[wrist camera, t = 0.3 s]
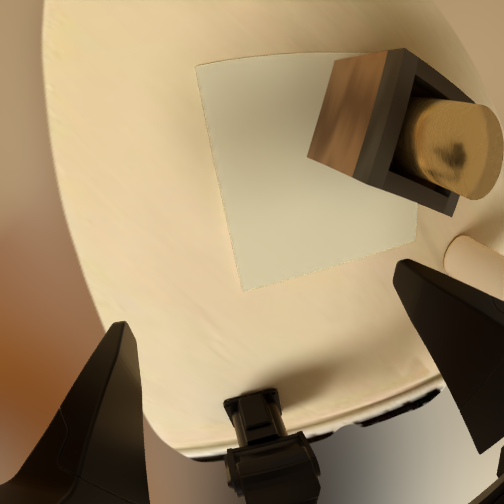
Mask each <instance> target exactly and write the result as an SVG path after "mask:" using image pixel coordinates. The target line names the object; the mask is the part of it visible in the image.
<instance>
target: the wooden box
mask: <svg viewBox="0 0 504 504" xmlns="http://www.w3.org/2000/svg"><path fill="white" fill-rule="evenodd" d="M410 96H412V97H425V98H435V99H444V100H452V101H459V102H466V103H472V104H476V103H475V102H473V101H472V100H471V99H470V98H469V97H468V96H467V95H466V94H464V93H463V92H462V91H461V90H460V89H459V88H457V87H456V86H455V85H454V84H453V83H451V82H450V81H449V80H448V79H446V78H445V77H444V76H443V75H441V74H440V73H439V72H437V71H436V70H435V69H434V68H432V67H431V66H430V65H428V64H427V63H425V62H424V61H423V60H421V59H420V58H418V57H417V56H415V55H414V54H413V53H411V52H410V51H408V50H407V49H405V48H402V49H394V50H387V51H381V52H375V53H369V54H364V55H358V56H353V57H349V58H344V59H339V60H335V61H334V65H333V68H332V72H331V75H330V79H329V82H328V86H327V89H326V93H325V96H324V100H323V103H322V107H321V110H320V114H319V117H318V120H317V124H316V127H315V131H314V134H313V137H312V141H311V144H310V147H309V151H308V154H307V158H310V159H312V160H314V161H317V162H319V163H321V164H323V165H326V166H328V167H330V168H332V169H335V170H337V171H339V172H341V173H343V174H346V175H348V176H350V177H352V178H354V179H356V180H358V181H360V182H362V183H364V184H366V185H369V186H372V187H375V188H378V189H381V190H384V191H386V192H389V193H392V194H395V195H397V196H400V197H403V198H405V199H408V200H411V201H413V202H416V203H418V204H421V205H423V206H426V207H428V208H431V209H433V210H436V211H438V212H441V213H443V214H445V215H448V216H450V217H452V216H453V213H454V210H455V208H456V205H457V202H458V199H459V196H460V195H459V194H457V193H455V192H453V191H451V190H448V189H446V188H444V187H442V186H439V185H437V184H435V183H432V182H430V181H428V180H425V179H423V178H420V177H418V176H416V175H413V174H411V173H408V172H405V171H403V170H400V169H398V168H395V167H392V166H390V164H391V161H392V158H393V154H394V151H395V148H396V145H397V141H398V138H399V135H400V131H401V128H402V124H403V121H404V117H405V113H406V110H407V106H408V102H409V98H410Z"/></svg>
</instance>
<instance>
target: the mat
mask: <svg viewBox="0 0 504 504" xmlns="http://www.w3.org/2000/svg"><path fill="white" fill-rule="evenodd" d="M364 54H369V53H351V52H314V53H291V54H277V55H266V56H256V57H248V58H240V59H233V60H226V61H220V62H214V63H209V64H203V65H198V66H195V69H196V74H197V79H198V84H199V89H200V94H201V100H202V105H203V110H204V115H205V120H206V125H207V129H208V134H209V139H210V144H211V149H212V154H213V159H214V164H215V168H216V173H217V178H218V183H219V187H220V192H221V197H222V201H223V206H224V211H225V215H226V220H227V225H228V229H229V234H230V238H231V243H232V247H233V252H234V256H235V261H236V265H237V270H238V274H239V279H240V283H241V287H242V291H243V292H245V291H249V290H253V289H256V288H260V287H264V286H267V285H271V284H275V283H278V282H282V281H285V280H289V279H292V278H296V277H299V276H303V275H306V274H310V273H313V272H317V271H320V270H324V269H327V268H330V267H334V266H337V265H340V264H344V263H347V262H350V261H354V260H357V259H360V258H363V257H367V256H370V255H373V254H376V253H379V252H383V251H386V250H389V249H392V248H395V247H398V246H401V245H405V244H408V243H411V242H414V241H415V239H416V227H417V213H418V203H416V202H413V201H411V200H408V199H405V198H403V197H400V196H397V195H395V194H392V193H389V192H386V191H384V190H381V189H378V188H375V187H372V186H369V185H366V184H364V183H362V182H360V181H358V180H356V179H354V178H352V177H350V176H348V175H346V174H343V173H341V172H339V171H337V170H335V169H332V168H330V167H328V166H326V165H323V164H321V163H319V162H317V161H314V160H312V159H310V158H307V154H308V151H309V147H310V144H311V141H312V137H313V134H314V131H315V127H316V124H317V120H318V117H319V114H320V110H321V107H322V103H323V100H324V96H325V93H326V89H327V86H328V82H329V79H330V75H331V72H332V68H333V65H334V61H335V60H339V59H344V58H349V57H353V56H358V55H364Z"/></svg>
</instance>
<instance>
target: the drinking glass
mask: <svg viewBox="0 0 504 504" xmlns="http://www.w3.org/2000/svg"><path fill="white" fill-rule="evenodd" d="M444 269H445V271H446V273H447V274H448V275H450V276H451V277H452V278H455V279H457V280H459V281H461V282H463V283H466V284H468V285H470V286H472V287H474V288H477V289H479V290H481V291H483V292H485V293H487V294H489V295H492V296H494V297H496V298H498V299H500V300H502V301H504V256H503V255H502V254H500V253H498V252H496V251H494V250H492V249H490V248H488V247H486V246H484V245H482V244H481V243H479V242H477V241H475V240H474V239H472V238H470V237H469V236H466V235H462V236H459V237H457V238H456V239H455V240H454V241H453V242H452V243H451V244H450V246H449V247H448V249H447V251H446V254H445V257H444Z"/></svg>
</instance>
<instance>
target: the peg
mask: <svg viewBox="0 0 504 504" xmlns="http://www.w3.org/2000/svg"><path fill="white" fill-rule="evenodd" d="M503 151H504V145H503V135H502V130H501V127H500V124H499V121H498V119H497V117H496V116H495V114H494V113H493V112H492V111H491V110H490V109H489V108H488V107H486V106H483V105H478V104H472V103H466V102H459V101H452V100H444V99H435V98H425V97H412V96H410V98H409V102H408V106H407V110H406V113H405V117H404V121H403V124H402V128H401V131H400V135H399V138H398V141H397V145H396V148H395V151H394V154H393V158H392V161H391V164H390V166H392V167H395V168H398V169H400V170H403V171H405V172H408V173H411V174H413V175H416V176H418V177H420V178H423V179H425V180H428V181H430V182H432V183H435V184H437V185H439V186H442V187H444V188H446V189H448V190H451V191H453V192H455V193H457V194H459V195H461V196H464V197H466V198H468V199H470V200H478V199H481V198H483V197H484V196H486V195H487V194H488V193H489V192H490V190H491V189H492V188H493V186H494V185H495V183H496V181H497V179H498V176H499V173H500V170H501V166H502V161H503Z"/></svg>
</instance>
